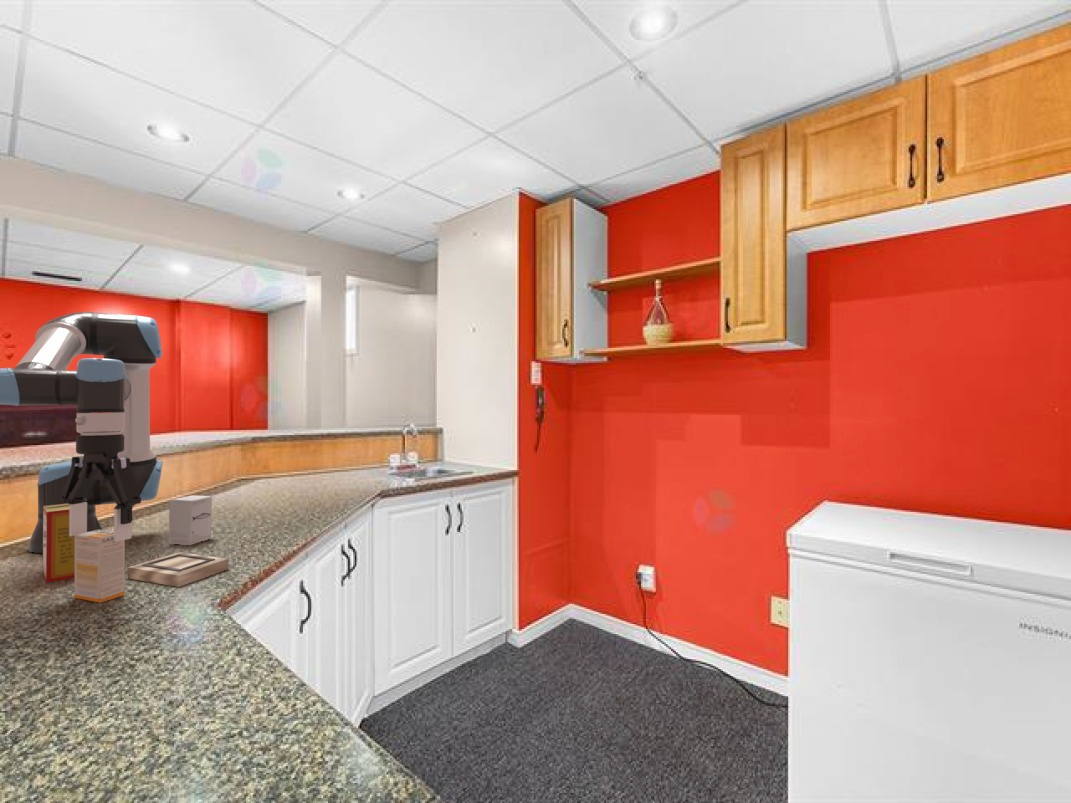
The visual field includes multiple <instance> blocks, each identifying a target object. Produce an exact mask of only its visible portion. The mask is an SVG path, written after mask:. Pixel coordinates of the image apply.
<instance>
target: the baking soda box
mask: <svg viewBox="0 0 1071 803" xmlns="http://www.w3.org/2000/svg"><path fill="white" fill-rule="evenodd" d="M42 575H43V578H44V577H45V578H44V579H45V583H47V584H48V582H49V583H53V582H57V581H58V582H59V581H63V580H64V579H65V580H68V579H75V578H74V577H75V536H69V504H68V503H66V504H57V505H48V506H43V553H42Z"/></svg>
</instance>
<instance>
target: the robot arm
mask: <svg viewBox="0 0 1071 803" xmlns="http://www.w3.org/2000/svg"><path fill="white" fill-rule="evenodd" d="M34 340H35V341H34V343H33V344H32V345H31V347H30V348H29V349H28V351H27V352H26V353H25V354H24V355H23V356H22V358H21V360H20V361H19V362H17V364H16V365H15V367H13V368H12V367H5V368H0V406H1V405H4V406H15V407H16V406H17V407H18V406H76V410H75V411H76V418H75V420H74V421H75V423H76V432H77V433H79V434H80V435H77V436H76V437H75V453H76V454H79V456H73V457H72V458H71V461H65V462H59V463H53V464H49V465H48V464H47V465H45V466H43V467H42V468H40V469H39V471H38V477H37V478H38V479H37V480H38V481H37V484H36V486H37V523H36V524H35V527H34V529H33V531H32V534H31V537H30V538H29V541H28V552H30V553H32V552H34V553H33V554H43V506H48V505H57V504H66V503H68V504H69V536H75V535H77V534H81V533H86V532H90V531H95V530H103V528H102V526H101V523H100V521H99V519H98V517H97V515H96V510H97V509H96V507H97V506H100V505H112V504H113V505H114V504H115V506H114V507H113V511H114V512H113V513H114V514H113V516H114V517H113V519H114V521H113V523H114V524H113V526H114V527H113V531H114V541H115V542H118V541H122V540H125V541H126V540H130V539H132V535H133V534H132V528H133V527H132V526H133V525H132V523H133V507H134V506H135V505H138V504H141V503H142V502H145V501H146V502H147V501H151V500H154V499H155V498H156V497H157V495H158V493H159V487H160V481H161V475H162V471H163V470H162V469H163V461H162V460H159V459H157V453H155V452H153V451H152V450H151V421H150V420H151V419H150V418H151V412H150V411H151V407H150V406H151V404H150V403H151V400H150V399H151V398H150V397H151V396H150V395H151V394H150V392H151V391H150V388H151V387H150V383H151V382H150V372H151V368H153V367H154V366H156V364H157V359H162V357H163V348H162V347H163V346H162V341H161V335H160V331H159V325H158V323H157V321H156V320H155V319H154V318H152V317H150V316H142V315H136V314H134V315H131V314H118V313H108V312H107V313H105V312H93V311H80V312H79V311H78V312H72V313H68V314H65V315H61V316H58V317H56V318H52V319H51V320H48V321H47V322H45V323H44V324H43V325H41V326H40V327H39V329H37V331H36V333H35V337H34ZM80 355H92V356H103V358H100V357H99V358H98V357H89V358H88V357H87V358H85V357H84V358H80V359H79V360H78V361H77V362H76V364H77V365H76V370H72V369H71V370H70V369H68V368H69V366H70V364H71V362H72V361H73V360H74V358H75V357H78V356H80ZM67 369H68V370H67ZM80 455H82V456H80Z"/></svg>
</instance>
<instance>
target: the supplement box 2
mask: <svg viewBox="0 0 1071 803" xmlns="http://www.w3.org/2000/svg"><path fill="white" fill-rule="evenodd" d="M212 500H213V499H212V496H211V495H189V496H188V495H187V496H183V497H177V498H173V499H170V500H169V507H168V508H169V511H168V520H169V521H168V544H169V545H174V544H180V545H179V546H186V545H190V546H193V545H195V544H199V543H201V541H202V542H205V541H208V539H209V540H211V539H212V510H213V509H212V508H213V506H212V505H213V504H212V503H213V502H212Z"/></svg>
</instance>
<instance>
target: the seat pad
mask: <svg viewBox="0 0 1071 803" xmlns="http://www.w3.org/2000/svg"><path fill="white" fill-rule="evenodd" d="M227 569H228V570H229V558H227V557H226V558H223V557H216V556H211V555H205V554H195V553H188V552H181V551H179V552H176V553H173V554H169V555H166V556H162V557H159V558H156V559H152V560H148V561H145V562H142V563H139V564H134V565H131V566H128V567H127V579H129V580H130V579H131V580H135V581H140V582H141V581H142V582H147V583H153V584H159V585H165V586H171V587H178V588H179V587H182V586H185V585H189V584H190V583H194V582H196V581H199V580H202V579H205V578H208V577H211V576H213V575H217V574H219V572H220V573H222V572H225V571H228V570H227ZM224 570H225V571H224ZM221 571H222V572H221ZM216 573H217V574H216ZM210 575H211V576H210Z"/></svg>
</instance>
